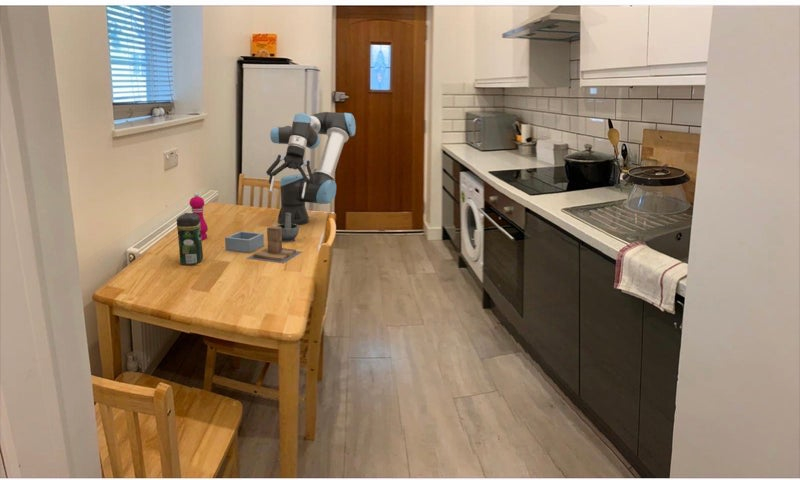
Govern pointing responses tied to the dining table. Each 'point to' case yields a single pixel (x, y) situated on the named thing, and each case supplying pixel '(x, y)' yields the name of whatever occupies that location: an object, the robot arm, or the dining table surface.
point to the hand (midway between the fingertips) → (286, 194)
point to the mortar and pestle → (288, 229)
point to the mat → (275, 260)
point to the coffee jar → (189, 239)
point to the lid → (274, 246)
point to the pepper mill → (199, 213)
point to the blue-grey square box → (244, 241)
